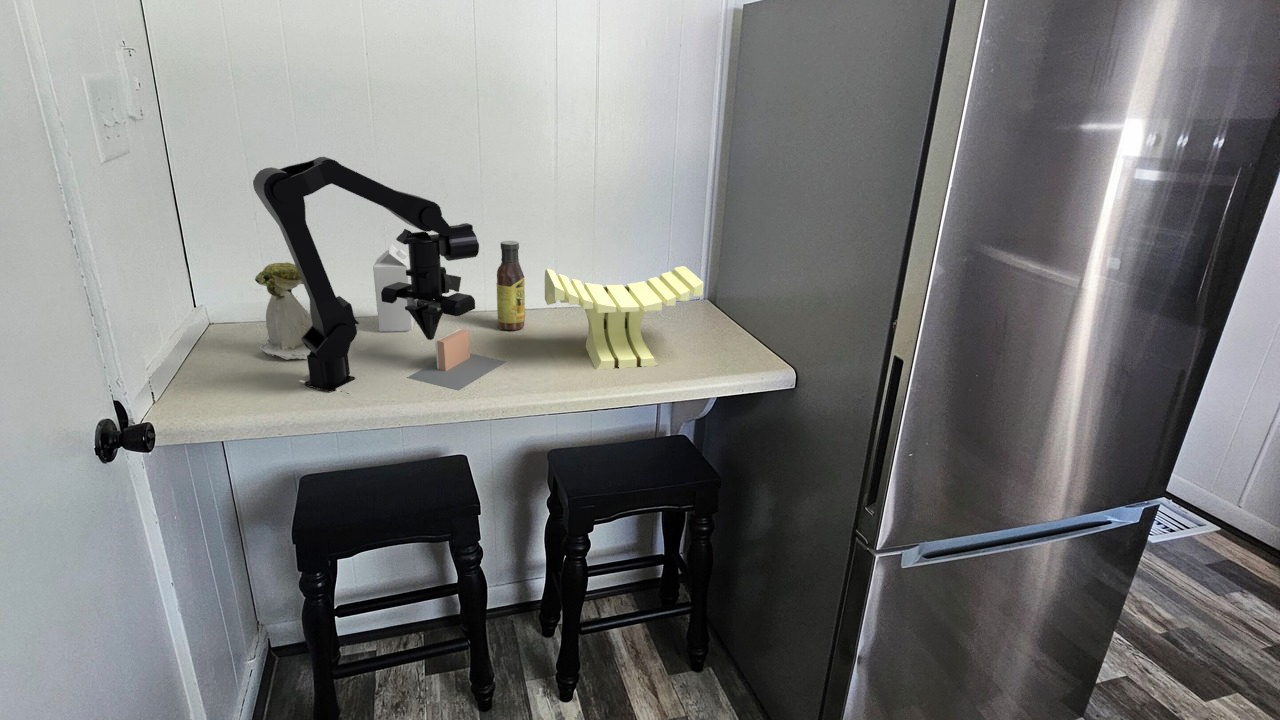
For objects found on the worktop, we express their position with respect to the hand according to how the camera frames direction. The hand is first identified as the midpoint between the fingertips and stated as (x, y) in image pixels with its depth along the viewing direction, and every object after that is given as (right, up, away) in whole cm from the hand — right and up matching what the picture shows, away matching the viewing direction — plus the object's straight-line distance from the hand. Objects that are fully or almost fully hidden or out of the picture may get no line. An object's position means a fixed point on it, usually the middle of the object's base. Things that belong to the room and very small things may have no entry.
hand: (430, 339), depth 144 cm
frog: (-29, -2, +3) cm, 29 cm away
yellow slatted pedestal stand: (+38, -3, +10) cm, 39 cm away
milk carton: (-13, +3, +19) cm, 23 cm away
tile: (+5, -5, 0) cm, 7 cm away
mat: (+6, -6, -3) cm, 9 cm away
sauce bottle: (+12, +3, +22) cm, 26 cm away
